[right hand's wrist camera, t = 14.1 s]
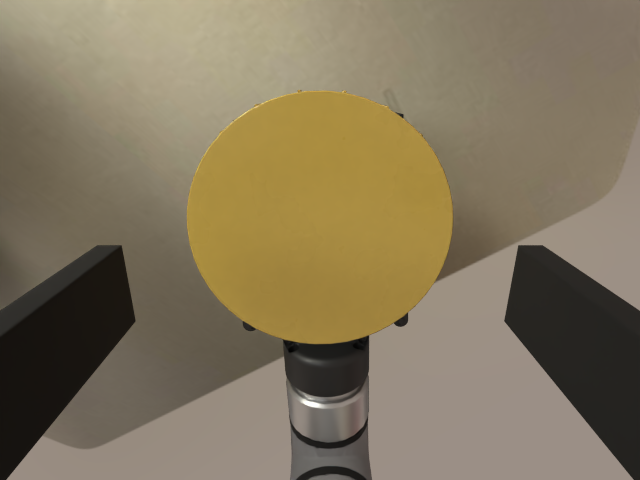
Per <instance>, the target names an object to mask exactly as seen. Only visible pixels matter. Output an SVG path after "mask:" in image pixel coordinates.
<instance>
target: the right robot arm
mask: <svg viewBox="0 0 640 480" xmlns="http://www.w3.org/2000/svg"><path fill="white" fill-rule="evenodd" d="M135 321H136V320H135V315H134V310H133V304H132V299H131V294H130V288H129V283H128V277H127V272H126V267H125V261H124V256H123V251H122V245H97V246H96V247H94V248H93V249H91V250H90V251H88V252H87V253H85V254H84V255H82V256H81V257H79V258H78V259H76V260H75V261H73V262H72V263H71V264H69V265H68V266H66V267H65V268H63V269H62V270H60V271H59V272H57V273H56V274H54V275H53V276H51V277H50V278H48V279H47V280H45V281H44V282H42V283H41V284H39V285H38V286H36V287H35V288H33V289H32V290H30V291H29V292H27V293H26V294H25V295H23V296H22V297H20V298H19V299H17V300H16V301H14V302H13V303H11V304H10V305H8V306H7V307H5V308H4V309H2V310H1V311H0V480H6V479H7V478H8V477H9V476H10V474H11V473H12V472H13V471H14V470H15V468H16V467H17V466H18V465H19V463H20V462H21V461H22V460H23V459H24V457H25V456H26V455H27V453H28V452H29V451H30V450H31V449H32V447H33V446H34V445H35V444H36V443H37V441H38V440H39V439H40V438H41V436H42V435H43V434H44V433H45V432H46V430H47V429H48V428H49V427H50V425H51V424H52V423H53V422H54V421H55V419H56V418H57V417H58V416H59V414H60V413H61V412H62V411H63V410H64V408H65V407H66V406H67V405H68V403H69V402H70V401H71V400H72V398H73V397H74V396H75V395H76V394H77V392H78V391H79V390H80V389H81V387H82V386H83V385H84V384H85V383H86V381H87V380H88V379H89V378H90V376H91V375H92V374H93V373H94V372H95V370H96V369H97V368H98V367H99V365H100V364H101V363H102V362H103V361H104V359H105V358H106V357H107V356H108V354H109V353H110V352H111V351H112V349H113V348H114V347H115V346H116V345H117V343H118V342H119V341H120V340H121V338H122V337H123V336H124V335H125V334H126V332H127V331H128V330H129V329H130V327H131V326H132V325H133V324H134V323H135ZM504 321H505V323H506V324H507V325H508V326H509V327H510V329H511V330H512V331H513V332H514V334H515V335H516V336H517V337H518V338H519V340H520V341H521V342H522V343H523V345H524V346H525V347H526V348H527V349H528V351H529V352H530V353H531V354H532V356H533V357H534V358H535V359H536V361H537V362H538V363H539V364H540V365H541V367H542V368H543V369H544V370H545V372H546V373H547V374H548V375H549V376H550V378H551V379H552V380H553V381H554V382H555V384H556V385H557V386H558V387H559V389H560V390H561V391H562V392H563V394H564V395H565V396H566V397H567V398H568V400H569V401H570V402H571V403H572V405H573V406H574V407H575V408H576V410H577V411H578V412H579V413H580V414H581V416H582V417H583V418H584V419H585V421H586V422H587V423H588V424H589V425H590V427H591V428H592V429H593V430H594V432H595V433H596V434H597V435H598V436H599V438H600V439H601V440H602V441H603V443H604V444H605V445H606V446H607V447H608V449H609V450H610V451H611V452H612V454H613V455H614V456H615V457H616V458H617V460H618V461H619V462H620V463H621V465H622V466H623V467H624V468H625V470H626V471H627V472H628V473H629V474H630V476H631V477H632V478H633V479H634V480H640V311H639V310H638V309H636V308H635V307H633V306H632V305H630V304H629V303H627V302H626V301H624V300H623V299H621V298H620V297H618V296H617V295H615V294H614V293H613V292H611V291H610V290H608V289H607V288H605V287H604V286H602V285H601V284H599V283H598V282H596V281H595V280H593V279H592V278H590V277H589V276H587V275H586V274H584V273H583V272H581V271H580V270H578V269H577V268H575V267H574V266H572V265H571V264H569V263H568V262H566V261H565V260H563V259H562V258H561V257H559V256H558V255H556V254H555V253H553V252H552V251H550V250H549V249H547V248H546V247H544V246H543V245H519V246H518V251H517V256H516V261H515V267H514V272H513V277H512V283H511V288H510V294H509V299H508V304H507V310H506V315H505V320H504Z"/></svg>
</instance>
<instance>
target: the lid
mask: <svg viewBox="0 0 640 480" xmlns="http://www.w3.org/2000/svg"><path fill="white" fill-rule="evenodd" d="M254 106H255V107H254V108H252V109H250V110H249V111H247V112H246V113H244V114H243V115H241V116H240V117H238V118H237V119H235V120H234V121H233V122H232V123H231V124H230V125H229V126H228V127H226V128H225V129H224V130H223V131H221V132H220V134H219V136H218V137H217V138H216V139H215V140H214V142H213V143H212V144H211V145H210V147H209V148H208V150H207V152H206V153H205V155H204V156H203V158H202V160H201V161H200V164H199V166H198V168H197V171H196V173H195V175H194V178H193V181H192V185H191V189H190V192H189V199H188V206H187V229H188V236H189V242H190V246H191V250H192V253H193V257H194V260H195V262H196V264H197V266H198V269H199V271H200V273H201V275H202V277H203V278H204V280H205V282H206V283H207V285H208V287H209V288H210V289H211V291H212V292H213V293H214V294H215V296H216V297H217V298H218V299H219V301H220V302H222V303H223V304H224V305H225V306H226V307H227V308H228V309H229V310H230V311H231V312H232V313H233V314H235V315H236V316H237V317H239V318H240V319H241V320H242V321H244V322H246V323H247V324H249V325H251V326H252V327H254V328H256V329H258V330H260V331H262V332H265V333H267V334H269V335H272V336H275V337H278V338H281V339H284V340H289V341H294V342H299V343H308V344H333V343H340V342H347V341H351V340H355V339H359V338H362V337H365V336H368V335H371V334H373V333H376V332H378V331H380V330H382V329H384V328H386V327H388V326H390V325H391V324H393V323H394V322H396V321H397V320H399V319H400V318H402V317H403V316H404V315H405V314H407V313H408V312H409V311H410V310H411V309H412V308H414V307H415V306H416V305H417V304H418V302H419V301H420V300H421V299H422V298H423V297H424V296H425V295H426V293H427V292H428V291H429V289H430V288H431V286H432V285H433V284H434V282H435V280H436V278H437V277H438V275H439V273H440V271H441V269H442V267H443V264H444V262H445V259H446V256H447V254H448V250H449V246H450V242H451V237H452V228H453V205H452V199H451V193H450V188H449V184H448V181H447V178H446V176H445V173H444V170H443V168H442V166H441V164H440V162H439V160H438V158H437V156H436V154H435V153H434V151H433V150H432V148H431V147H430V146H429V144H428V143H427V141H426V140H425V139H424V138H423V137H422V136H423V135H422V134H420V133H419V132H418V131H417V130H416V129H415V128H414V127H413V126H412V125H410V124H409V123H408V122H407V121H405V120H404V119H403V118H402V117H401V116H399V115H398V114H396V113H394V112H393V111H391V110H389V107H388V106H384V105H381V104H378V103H376V102H373V101H371V100H369V99H366V98H363V97H359V96H356V95H352V94H348V93H346V91H342V92H333V91H305V92H302V90H298V93H293V94H287V95H284V96H281V97H278V98H274V99H271V100H268V101H266V102H264V103H262V104H261V103H260V104H256V105H254Z"/></svg>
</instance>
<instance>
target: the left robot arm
mask: <svg viewBox="0 0 640 480" xmlns="http://www.w3.org/2000/svg"><path fill="white" fill-rule="evenodd" d="M396 114H398V115H399V116H401V117H402V118H403V114H400V113H396ZM407 322H408V313H407V314H405V315H404V316H403V317H402V318H400V319H399V320H397V321H396V322H394V324H395V325H396V326H399V327H402V326H404V325H406V324H407ZM243 326H244V328H245V329H246V330H248V331H254V330H255V329H256V328H254V327H252V326H251V325H249V324H247V323H246V322H244V321H243ZM283 347H284V359H285V371H286V376H287V381H286V385H287V395H288V405H289V418H290V424H291V444H292V464H291V477H290V480H372V477H371V469H370V462H369V451H368V412H369V377H368V372H369V335H368V336H365V337H362V338H359V339H355V340H351V341H347V342H340V343H333V344H308V343H299V342H294V341H289V340H284V339H283Z"/></svg>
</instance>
